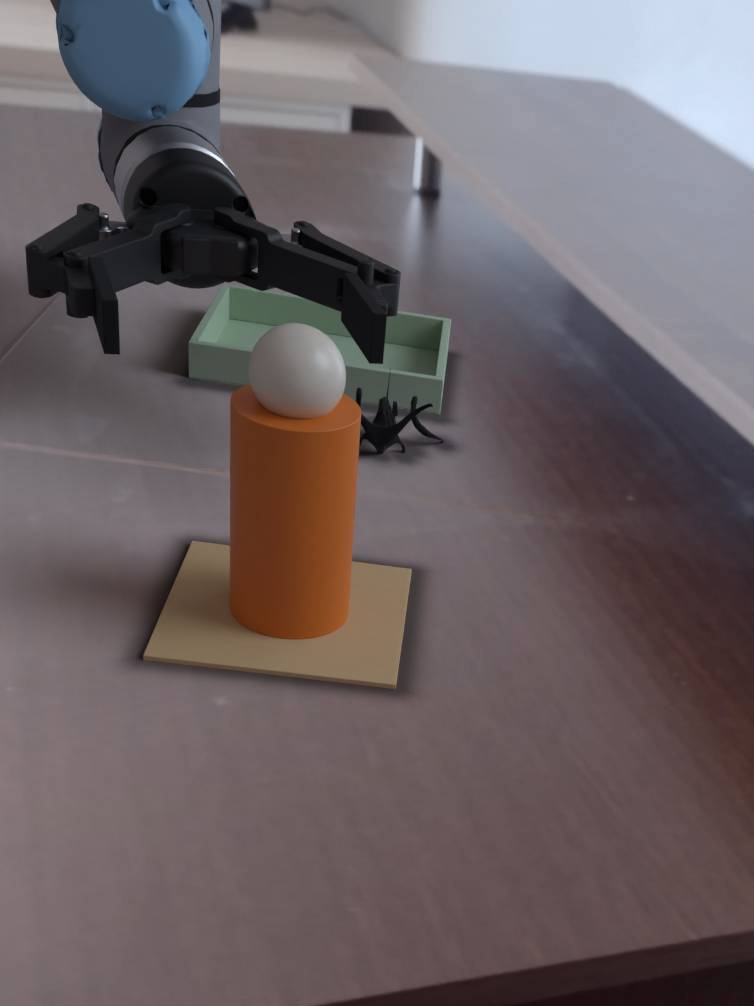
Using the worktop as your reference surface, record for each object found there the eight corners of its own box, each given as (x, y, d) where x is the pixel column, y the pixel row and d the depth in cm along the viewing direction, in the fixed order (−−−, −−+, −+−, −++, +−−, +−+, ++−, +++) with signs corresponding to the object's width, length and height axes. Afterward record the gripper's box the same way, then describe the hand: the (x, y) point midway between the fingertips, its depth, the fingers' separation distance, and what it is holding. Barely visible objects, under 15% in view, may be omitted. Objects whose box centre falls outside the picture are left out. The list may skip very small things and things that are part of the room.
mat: (143, 662, 63) (142, 655, 63) (192, 546, 73) (191, 540, 73) (395, 691, 65) (396, 684, 65) (411, 574, 74) (411, 568, 74)
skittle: (220, 631, 66) (219, 338, 57) (240, 574, 71) (242, 295, 62) (342, 646, 67) (359, 359, 58) (353, 588, 71) (371, 315, 63)
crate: (188, 385, 90) (188, 341, 88) (222, 323, 100) (222, 282, 98) (439, 422, 92) (443, 380, 91) (447, 357, 103) (451, 318, 101)
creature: (328, 433, 90) (314, 455, 83) (334, 352, 88) (320, 367, 81) (443, 450, 91) (439, 473, 84) (452, 370, 89) (448, 386, 82)
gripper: (374, 282, 91) (469, 408, 76) (-27, 257, 81) (-7, 397, 66) (383, 164, 86) (486, 274, 71) (-41, 123, 76) (-22, 241, 61)
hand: (250, 334), depth 69 cm, fingers open, 13 cm apart
